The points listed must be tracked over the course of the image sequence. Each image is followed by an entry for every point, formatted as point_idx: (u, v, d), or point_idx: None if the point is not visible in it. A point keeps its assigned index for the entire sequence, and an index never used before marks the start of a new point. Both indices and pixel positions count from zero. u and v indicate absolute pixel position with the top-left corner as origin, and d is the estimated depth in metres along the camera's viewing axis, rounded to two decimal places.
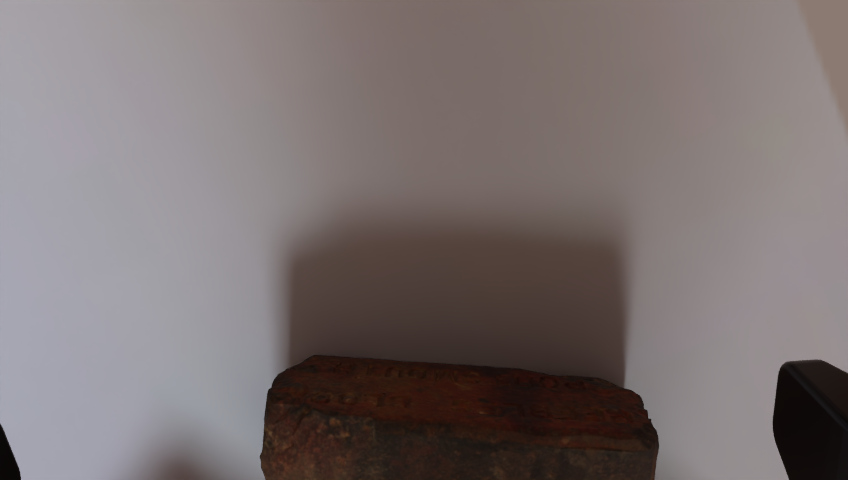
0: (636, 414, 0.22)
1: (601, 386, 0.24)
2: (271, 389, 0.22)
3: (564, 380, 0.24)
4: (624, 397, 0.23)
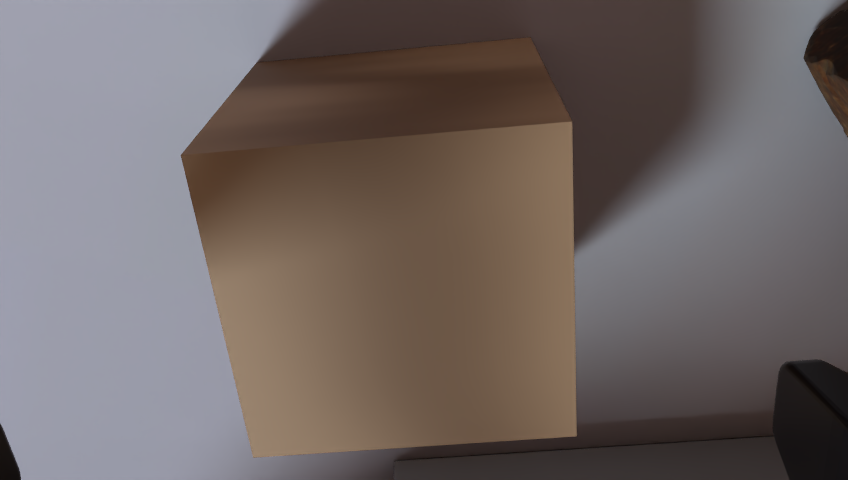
0: None
1: None
2: None
3: None
4: None
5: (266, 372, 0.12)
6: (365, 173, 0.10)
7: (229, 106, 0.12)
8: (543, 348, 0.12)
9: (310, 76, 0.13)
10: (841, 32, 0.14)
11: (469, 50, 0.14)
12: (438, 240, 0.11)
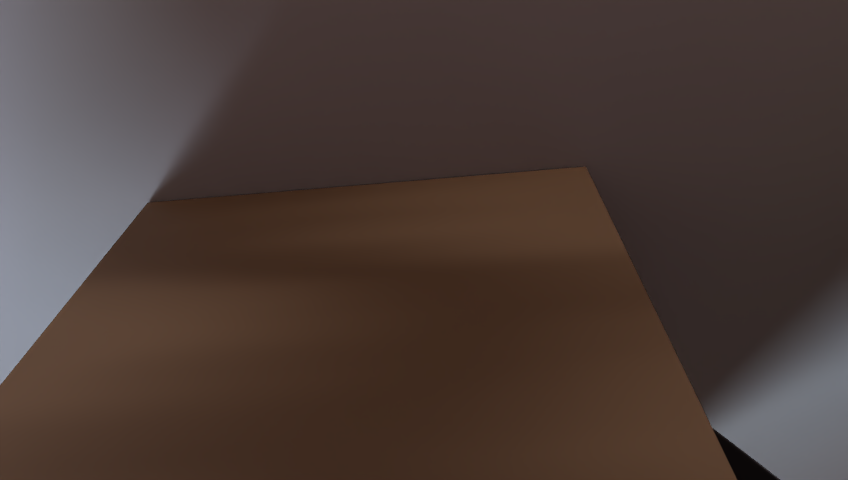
0: None
1: None
2: None
3: None
4: None
5: None
6: None
7: (53, 339, 0.07)
8: None
9: (219, 253, 0.08)
10: None
11: (489, 197, 0.08)
12: None
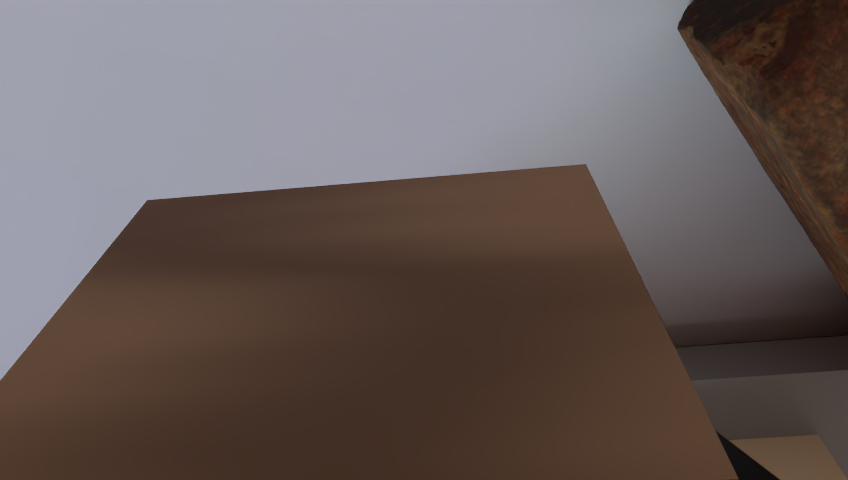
0: None
1: None
2: None
3: None
4: None
5: None
6: None
7: (52, 337, 0.07)
8: None
9: (218, 250, 0.08)
10: (704, 6, 0.17)
11: (489, 195, 0.08)
12: None
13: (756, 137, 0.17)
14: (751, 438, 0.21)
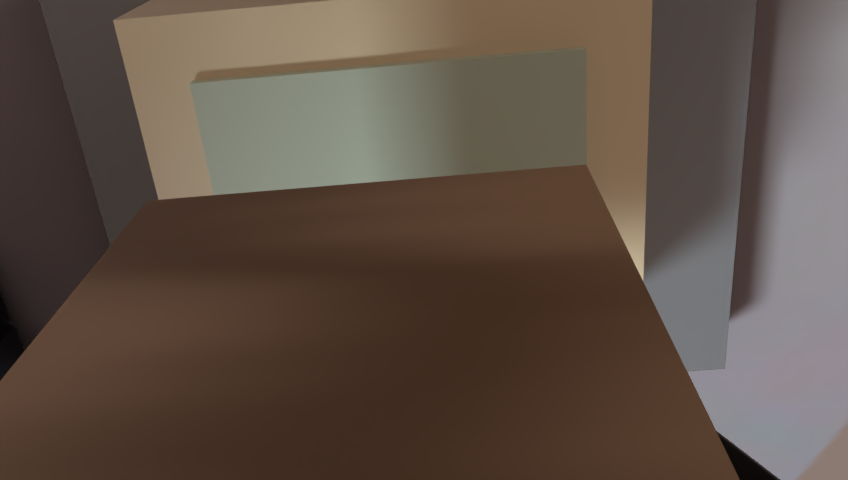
0: None
1: None
2: None
3: None
4: None
5: None
6: None
7: (52, 338, 0.07)
8: None
9: (218, 251, 0.08)
10: None
11: (489, 195, 0.08)
12: None
13: None
14: None
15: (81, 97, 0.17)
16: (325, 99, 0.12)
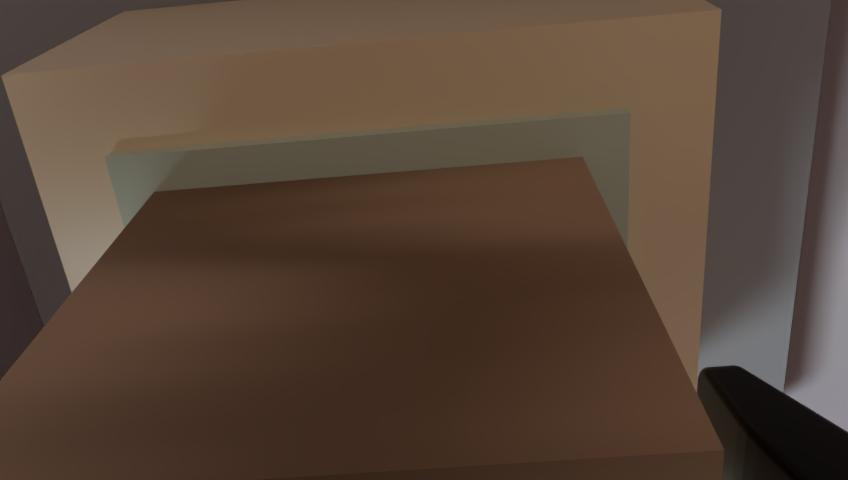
0: None
1: None
2: None
3: None
4: None
5: None
6: None
7: (65, 321, 0.07)
8: None
9: (224, 239, 0.08)
10: None
11: (488, 186, 0.09)
12: None
13: None
14: None
15: (0, 151, 0.14)
16: (284, 177, 0.09)
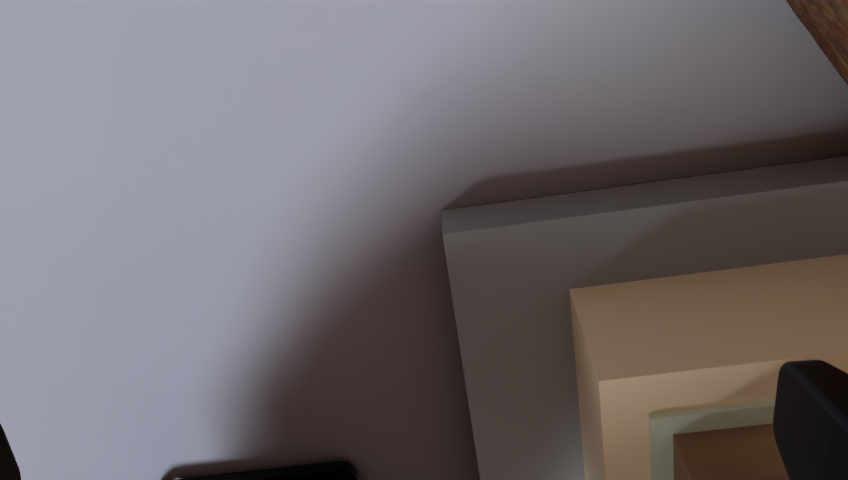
0: None
1: None
2: None
3: None
4: None
5: None
6: None
7: None
8: None
9: (754, 476, 0.16)
10: None
11: None
12: None
13: None
14: (820, 257, 0.20)
15: (474, 369, 0.22)
16: (747, 424, 0.17)
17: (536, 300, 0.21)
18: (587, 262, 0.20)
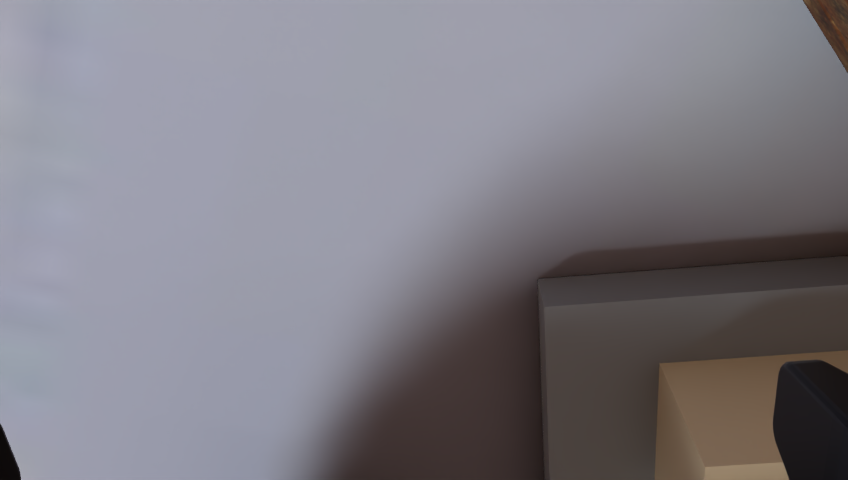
0: None
1: None
2: None
3: None
4: None
5: None
6: None
7: None
8: None
9: None
10: None
11: None
12: None
13: None
14: None
15: (559, 432, 0.22)
16: None
17: (626, 372, 0.22)
18: (680, 339, 0.21)
